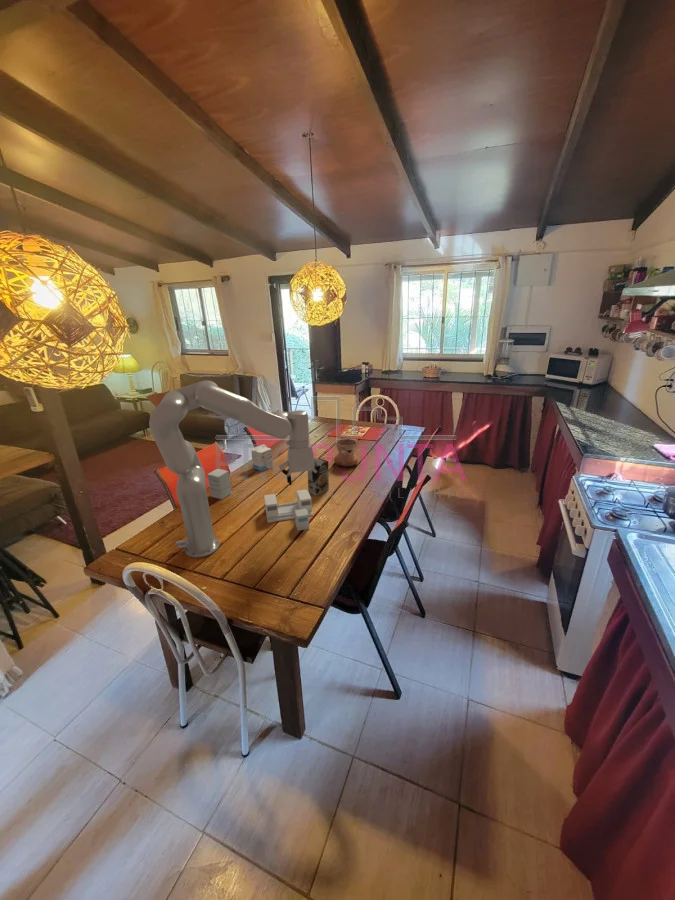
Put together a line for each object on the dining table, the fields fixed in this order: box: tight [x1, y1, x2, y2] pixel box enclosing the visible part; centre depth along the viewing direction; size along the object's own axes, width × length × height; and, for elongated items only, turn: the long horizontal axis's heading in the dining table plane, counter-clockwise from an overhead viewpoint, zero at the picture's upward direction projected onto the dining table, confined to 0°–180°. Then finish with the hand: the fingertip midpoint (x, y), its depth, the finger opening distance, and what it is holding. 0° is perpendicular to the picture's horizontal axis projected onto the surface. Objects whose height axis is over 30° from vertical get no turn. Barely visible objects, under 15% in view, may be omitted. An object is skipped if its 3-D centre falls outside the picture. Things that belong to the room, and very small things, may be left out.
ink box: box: [251, 443, 274, 472], centre depth 202 cm, size 9×8×13 cm
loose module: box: [294, 509, 310, 532], centre depth 146 cm, size 5×5×7 cm
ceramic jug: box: [333, 438, 359, 467], centre depth 206 cm, size 18×14×14 cm
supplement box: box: [206, 468, 232, 500], centre depth 171 cm, size 7×7×13 cm
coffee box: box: [307, 458, 330, 496], centre depth 174 cm, size 9×6×16 cm
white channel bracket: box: [263, 488, 313, 524], centre depth 156 cm, size 20×12×8 cm, turn 106°
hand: (302, 482), depth 139 cm, fingers open, 9 cm apart
